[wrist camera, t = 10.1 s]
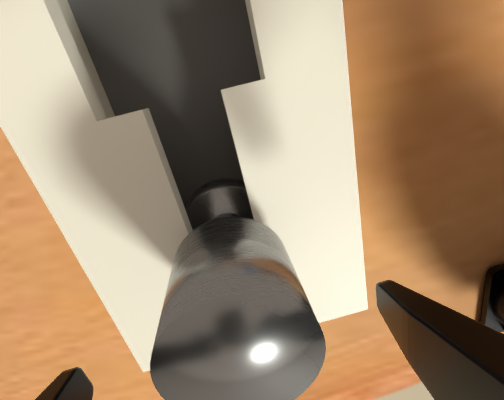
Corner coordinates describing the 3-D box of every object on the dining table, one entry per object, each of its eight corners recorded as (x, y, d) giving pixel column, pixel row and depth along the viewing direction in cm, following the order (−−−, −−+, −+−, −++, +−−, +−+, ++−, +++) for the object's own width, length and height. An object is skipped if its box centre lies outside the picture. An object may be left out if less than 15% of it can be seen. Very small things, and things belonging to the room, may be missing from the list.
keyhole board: (336, 264, 18) (367, 309, 14) (157, 313, 18) (143, 372, 14) (280, -166, 10) (317, -306, 7) (-41, -94, 10) (-189, -200, 6)
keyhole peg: (274, 240, 17) (334, 394, 8) (199, 261, 16) (184, 437, 8) (257, 168, 15) (313, 272, 6) (173, 190, 15) (119, 325, 6)
